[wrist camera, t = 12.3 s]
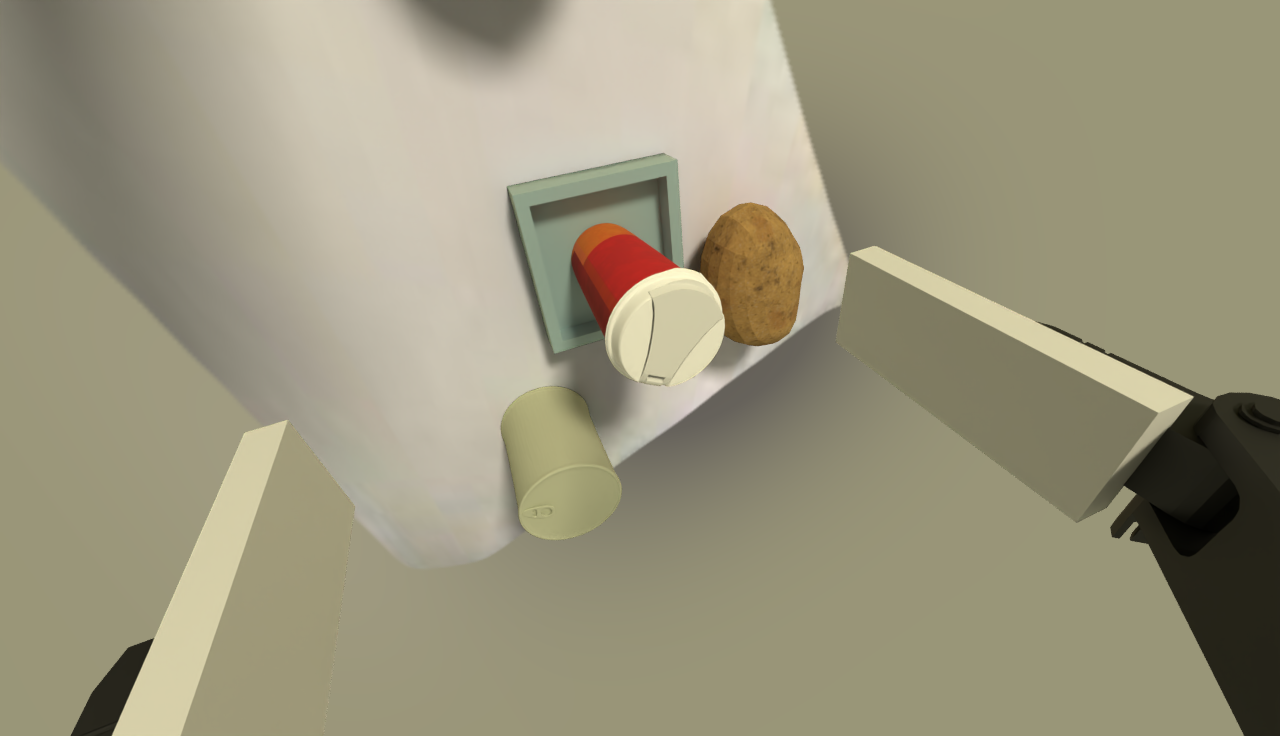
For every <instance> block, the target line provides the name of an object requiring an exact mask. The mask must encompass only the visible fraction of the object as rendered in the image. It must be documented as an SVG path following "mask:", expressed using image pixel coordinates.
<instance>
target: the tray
mask: <svg viewBox="0 0 1280 736" xmlns="http://www.w3.org/2000/svg"><path fill="white" fill-rule="evenodd" d="M507 188H508V192H509V196H510V199H511V203H512V207H513V210H514V214H515V218H516V222H517V225H518V229H519V233H520V236H521V240H522V244H523V247H524V251H525V255H526V258H527V262H528V266H529V270H530V273H531V277H532V281H533V284H534V288H535V292H536V295H537V299H538V303H539V307H540V310H541V314H542V318H543V321H544V325H545V329H546V332H547V336H548V339H549V342H550V344H551V347H552V349H553V351H554V354H555V353H559V352H562V351H566V350H569V349H572V348H576V347H579V346H582V345H586V344H589V343H593V342H596V341H599V340H603V339H605V337H604V335H603V333H602V331H601V329H600V327H599V325H598V323H597V321H596V319H595V317H594V315H593V313H592V310H591V308H590V306H589V304H588V302H587V300H586V298H585V296H584V294H583V292H582V289H581V287H580V285H579V283H578V281H577V278H576V276H575V274H574V271H573V268H572V262H571V255H572V250H573V247H574V244H575V242H576V240H577V239H578V237H579V236H580V235H581V234H582V233H583V232H584V231H585V230H587V229H588V228H590V227H592V226H594V225H597V224H601V223H612V224H616V225H619V226H621V227H623V228H625V229H627V230H628V231H630V232H631V233H633V234H634V235H636V236H637V237H638V238H640V239H641V240H643V241H644V242H646V243H647V244H648V245H650V246H651V247H653V248H654V249H655V250H657V251H658V252H660V253H661V254H662V255H664V256H665V257H666V258H668V259H669V260H671V261H672V262H673V263H675V264H676V265H677V266H679V267H680V268H684V262H683V245H682V229H681V212H680V196H679V179H678V163H677V159H675V158H672V157H670V156H668V155H666V154H664V153H662V154H657V155H653V156H648V157H643V158H638V159H634V160H629V161H624V162H620V163H615V164H610V165H605V166H601V167H596V168H591V169H587V170H582V171H577V172H573V173H568V174H563V175H558V176H554V177H549V178H544V179H540V180H535V181H530V182H525V183H521V184H516V185H511V186H507Z"/></svg>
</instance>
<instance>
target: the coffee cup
mask: <svg viewBox="0 0 1280 736" xmlns="http://www.w3.org/2000/svg"><path fill="white" fill-rule="evenodd" d="M571 262H572V268H573V271H574V274H575V276H576V278H577V281H578V283H579V285H580V287H581V289H582V292H583V294H584V296H585V298H586V300H587V302H588V304H589V306H590V308H591V310H592V313H593V315H594V317H595V319H596V321H597V323H598V325H599V327H600V329H601V331H602V333H603V335H604V337H605V346H606V351H607V354H608V357H609V359H610V361H611V363H612V364H613V366H614V367H615V368H616V369H617V370H618V371H619V372H620V373H621V374H622V375H624V376H625V377H627V378H629V379H631V380H634V381H636V382H641V383H644V384H649V385H656V386H661V385H665V386H667V387H670V386H674V385H677V384H680V383H683V382H685V381H687V380H689V379H691V378H692V377H694V376H696V375H697V374H698V373H700V372H701V371H702V370H703V369H704V368H705V367H706V366H707V365H708V364H709V363H710V362H711V360H712V359H713V358H714V356H715V355H716V353H717V351H718V350H719V347H720V345H721V343H722V339H723V336H724V329H725V319H724V315H723V313H722V306H721V301H720V298H719V296H718V293H717V292H716V290H715V289H714V287H713V286H712V285H711V284H710V283H709V282H708V281H707V280H706V278H705V277H704V276H703V275H702V274H701V273H699V272H696V271H694V270H690V269H685V268H680V267H679V266H677V265H676V264H675V263H673V262H672V261H671V260H669V259H668V258H666V257H665V256H664V255H662V254H661V253H660V252H658V251H657V250H655V249H654V248H653V247H651V246H650V245H648V244H647V243H646V242H644V241H643V240H641V239H640V238H638V237H637V236H636V235H634V234H633V233H631V232H630V231H628V230H627V229H625V228H623V227H621V226H619V225H616V224H612V223H601V224H597V225H594V226H592V227H590V228H588V229H587V230H585V231H584V232H583V233H582V234H581V235H580V236H579V237H578V239H577V240H576V242H575V244H574V247H573V250H572V255H571Z"/></svg>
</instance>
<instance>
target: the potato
mask: <svg viewBox="0 0 1280 736" xmlns="http://www.w3.org/2000/svg"><path fill="white" fill-rule="evenodd" d="M803 270H804V266H803V260H802V254H801V250H800V247H799V245H798V243H797V241H796V240H795V238H794V236H793V235H792V233H791V231H790V230H789V228H788V226H787V225H786V223H785V222H784V221H783V220H782V219H781V218H780V217H779V216H778V215H777V214H776V213H774V212H773V211H772V210H771V209H770V208H768V207H767V206H763V205H759V204H755V203H745V204H739V205H737V206H736V207H734V208H732V209H731V210H729V211H728V212H726V213H725V214H723V215H721V216H720V218H719V219H718V221H717V222H716V223H715V225H714V226H713V228H712V229H711V230H710V232H709V234H708V237H707V240H706V243H705V246H704V249H703V252H702V256H701V266H700V273H701V274H702V275H703V276H704V277H705V278H706V280H707V281H708V282H709V283H710V284H711V285H712V286H713V287H714V289H715V290H716V292H717V293H718V296H719V298H720V301H721V306H722V313H723V315H724V319H725V329H724V335H725V336H726V337H728V338H730V339H731V340H733V341H735V342H739V343H743V344H747V345H753V346H762V345H767V344H773V343H776V342H778V341H779V340H781V339H782V338H783V337H785V336H786V335H788V334H789V333H790V331H791V329H792V327H793V325H794V323H795V321H796V316H797V310H798V304H799V297H800V288H801V281H802V275H803Z"/></svg>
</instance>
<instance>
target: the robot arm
mask: <svg viewBox="0 0 1280 736" xmlns="http://www.w3.org/2000/svg"><path fill="white" fill-rule="evenodd" d="M836 343H837V344H839V345H840V346H841V347H843V348H844V349H845V350H847V351H848V352H850V353H851V354H852V355H853V356H855V357H856V358H857V359H859V360H860V361H861V362H863V363H864V364H865V365H867V366H868V367H869V368H871V369H872V370H873V371H875V372H876V373H877V374H879V375H880V376H882V377H883V378H884V379H885V380H887V381H888V382H889V383H891V384H892V385H894V386H895V387H896V388H897V389H899V390H900V391H901V392H903V393H904V394H905V395H907V396H908V397H909V398H911V399H912V400H913V401H915V402H916V403H917V404H919V405H920V406H921V407H923V408H924V409H925V410H927V411H928V412H929V413H931V414H932V415H933V416H935V417H936V418H938V419H939V420H940V421H941V422H943V423H944V424H945V425H947V426H948V427H949V428H951V429H952V430H953V431H955V432H956V433H958V434H959V435H960V436H961V437H963V438H964V439H965V440H967V441H968V442H969V443H971V444H972V445H973V446H975V447H976V448H977V449H979V450H980V451H982V452H983V453H984V454H985V455H987V456H988V457H989V458H991V459H992V460H993V461H995V462H996V463H997V464H999V465H1000V466H1001V467H1003V468H1004V469H1005V470H1007V471H1008V472H1009V473H1011V474H1012V475H1013V476H1015V477H1016V478H1017V479H1019V480H1020V481H1021V482H1023V483H1024V484H1025V485H1027V486H1028V487H1029V488H1031V489H1032V490H1033V491H1035V492H1036V493H1037V494H1039V495H1040V496H1041V497H1043V498H1044V499H1045V500H1047V501H1048V502H1049V503H1051V504H1052V505H1053V506H1055V507H1056V508H1057V509H1059V510H1060V511H1061V512H1063V513H1064V514H1065V515H1067V516H1068V517H1069V518H1071V519H1072V520H1073V521H1075V522H1076V523H1077V522H1079V521H1081V520H1083V519H1085V518H1087V517H1089V516H1091V515H1093V514H1095V513H1097V512H1099V511H1101V510H1103V509H1105V508H1107V507H1108V505H1109V504H1110V503H1111V502H1112V500H1113V499H1114V498H1115V496H1116V495H1117V494H1118V493H1119V491H1120V490H1121V489H1122V488H1123V486H1126V487H1127V488H1128V489H1130V490H1132V491H1133V492H1135V493H1136V495H1135V497H1134V498H1133V499H1132V500H1131V502H1130V503H1129V504H1128V505H1127V506H1126V508H1125V509H1124V510H1123V511H1122V512H1121V514H1120V515H1119V516H1118V517H1117V519H1116V520H1115V521H1114V523H1113V524H1112V526H1111V527H1110V528H1111V534H1112V537H1115V538H1120V537H1121V536H1122V535H1123V534H1124V533H1125V532H1126V530H1127V529H1128V528H1129V527H1130V526H1131V525H1132V523H1133V522H1138V524H1139V525H1138V527H1137V528H1136V529H1135V530H1134V531H1133V532H1132V534H1131V537H1130V540H1131V541H1135V542H1141V543H1146V544H1149V546H1150V548H1151V550H1152V552H1153V554H1154V556H1155V558H1156V560H1157V562H1158V564H1159V566H1160V568H1161V570H1162V572H1163V574H1164V576H1165V578H1166V580H1167V582H1168V584H1169V586H1170V588H1171V590H1172V592H1173V594H1174V596H1175V598H1176V600H1177V602H1178V604H1179V606H1180V608H1181V610H1182V612H1183V614H1184V616H1185V618H1186V620H1187V622H1188V624H1189V626H1190V628H1191V630H1192V632H1193V634H1194V636H1195V638H1196V640H1197V642H1198V644H1199V646H1200V648H1201V650H1202V652H1203V654H1204V656H1205V658H1206V660H1207V662H1208V664H1209V666H1210V668H1211V670H1212V672H1213V674H1214V676H1215V678H1216V680H1217V682H1218V684H1219V686H1220V688H1221V690H1222V692H1223V694H1224V696H1225V698H1226V700H1227V702H1228V704H1229V706H1230V708H1231V710H1232V712H1233V714H1234V716H1235V718H1236V720H1237V722H1238V724H1239V726H1240V728H1241V730H1242V732H1243V734H1244V736H1280V400H1279V399H1276V398H1273V397H1269V396H1263V395H1258V394H1252V393H1227V394H1224V395H1220V396H1217V397H1216V399H1215V400H1213V399H1210V398H1208V397H1205V396H1203V395H1200V394H1198V393H1196V392H1193V391H1191V390H1189V389H1187V388H1185V387H1183V386H1181V385H1179V384H1176V383H1174V382H1172V381H1170V380H1168V379H1166V378H1164V377H1161V376H1159V375H1157V374H1155V373H1152V372H1150V371H1149V370H1146V369H1144V368H1142V367H1140V366H1138V365H1136V364H1133V363H1131V362H1129V361H1127V360H1125V359H1123V358H1121V357H1119V356H1116V355H1114V354H1112V353H1110V354H1106V353H1105V350H1104V349H1101V348H1099V347H1097V346H1095V345H1093V344H1090V343H1088V342H1087V343H1083V342H1082V339H1080V338H1078V337H1076V336H1074V335H1071V334H1069V333H1067V332H1065V331H1063V330H1061V329H1059V328H1056V327H1054V326H1050V325H1047V324H1043V323H1040V322H1036V321H1033V320H1031V319H1029V318H1027V317H1024V316H1022V315H1020V314H1018V313H1016V312H1014V311H1012V310H1010V309H1007V308H1005V307H1003V306H1001V305H999V304H997V303H995V302H993V301H990V300H988V299H986V298H984V297H982V296H980V295H978V294H976V293H974V292H972V291H969V290H967V289H965V288H963V287H961V286H959V285H957V284H954V283H952V282H950V281H948V280H946V279H944V278H942V277H940V276H938V275H936V274H934V273H931V272H929V271H927V270H925V269H923V268H921V267H919V266H916V265H915V264H912V263H910V262H908V261H906V260H904V259H902V258H900V257H898V256H895V255H893V254H891V253H889V252H887V251H885V250H883V249H881V248H879V247H876V246H873V247H869V248H866V249H863V250H859V251H856V252H852V253H850V257H849V263H848V269H847V275H846V282H845V288H844V294H843V300H842V306H841V312H840V318H839V324H838V330H837V336H836ZM354 510H355V506H354V504H353V503H352V502H351V501H350V499H349V498H348V497H347V495H346V494H345V493H344V492H343V490H342V489H341V488H340V486H339V485H338V484H337V482H336V481H335V480H334V479H333V477H332V476H331V475H330V473H329V472H328V471H327V470H326V468H325V467H324V466H323V464H322V463H321V462H320V461H319V459H318V458H317V457H316V455H315V454H314V453H313V452H312V450H311V449H310V448H309V446H308V445H307V444H306V442H305V441H304V440H303V439H302V437H301V436H300V435H299V433H298V432H297V431H296V430H295V428H294V427H293V426H292V424H291V423H290V422H289V421H288V420H286V421H282V422H279V423H275V424H272V425H269V426H265V427H262V428H259V429H255V430H252V431H249V432H245V433H244V435H243V437H242V439H241V442H240V444H239V446H238V448H237V451H236V453H235V455H234V458H233V460H232V462H231V464H230V467H229V469H228V471H227V474H226V476H225V479H224V480H223V483H222V485H221V487H220V490H219V492H218V494H217V496H216V499H215V501H214V503H213V506H212V508H211V510H210V512H209V515H208V517H207V519H206V522H205V524H204V526H203V529H202V531H201V533H200V535H199V538H198V540H197V542H196V545H195V547H194V549H193V551H192V554H191V556H190V559H189V560H188V563H187V565H186V567H185V570H184V572H183V574H182V576H181V579H180V581H179V583H178V586H177V588H176V590H175V593H174V595H173V597H172V599H171V602H170V604H169V606H168V609H167V611H166V613H165V615H164V618H163V620H162V622H161V625H160V627H159V629H158V631H157V634H156V636H155V638H153V639H150V640H148V641H145V642H142V643H140V644H137V645H134V646H131V647H129V648H128V649H127V650H126V651H125V652H124V654H123V655H122V656H121V657H120V658H119V660H118V661H117V662H116V663H115V665H114V666H113V667H112V668H111V670H110V671H109V672H108V673H107V675H106V676H105V677H104V678H103V680H102V681H101V682H100V683H99V685H98V686H97V687H96V688H95V690H94V691H93V692H92V694H91V696H90V698H89V700H88V702H87V704H86V706H85V708H84V710H83V712H82V714H81V716H80V718H79V720H78V722H77V724H76V726H75V728H74V730H73V732H72V734H71V736H324V729H325V722H326V714H327V707H328V699H329V692H330V685H331V678H332V670H333V663H334V656H335V648H336V641H337V634H338V627H339V619H340V612H341V605H342V597H343V590H344V582H345V576H346V568H347V561H348V554H349V546H350V539H351V532H352V525H353V524H352V523H353V517H354Z"/></svg>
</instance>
